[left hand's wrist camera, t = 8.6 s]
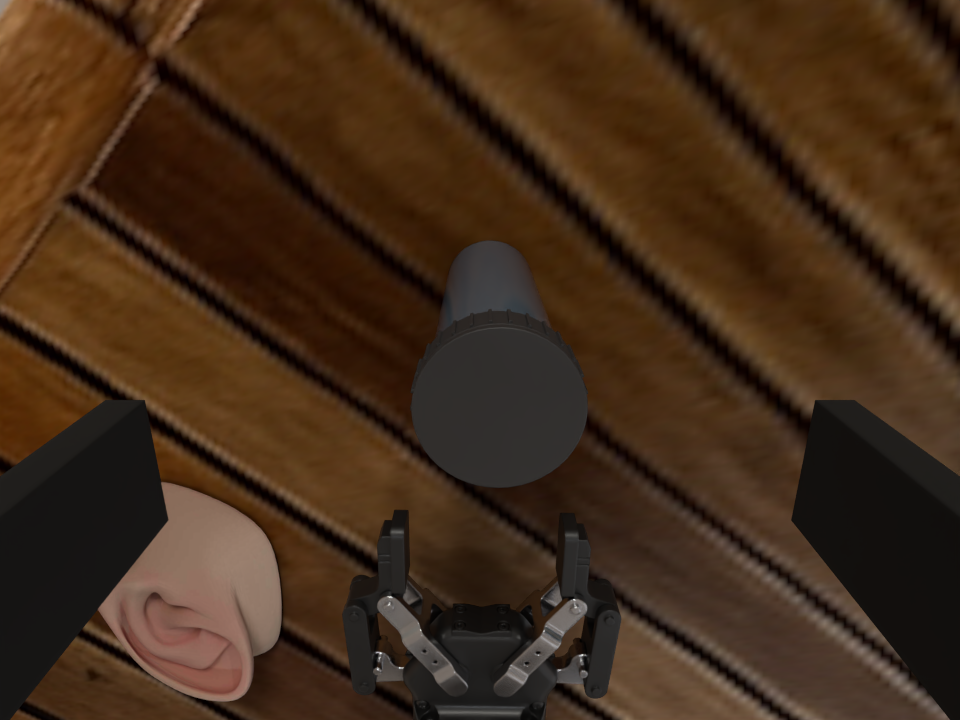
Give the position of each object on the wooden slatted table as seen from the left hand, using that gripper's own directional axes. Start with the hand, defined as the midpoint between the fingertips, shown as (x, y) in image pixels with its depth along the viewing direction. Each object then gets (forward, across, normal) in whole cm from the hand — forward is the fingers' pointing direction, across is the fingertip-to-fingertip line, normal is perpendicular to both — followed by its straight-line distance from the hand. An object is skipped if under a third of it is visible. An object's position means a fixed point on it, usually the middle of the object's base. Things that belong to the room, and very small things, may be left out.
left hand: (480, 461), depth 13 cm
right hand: (+16, 0, +12) cm, 20 cm away
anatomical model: (+22, +18, +21) cm, 36 cm away
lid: (+6, -1, +2) cm, 6 cm away
